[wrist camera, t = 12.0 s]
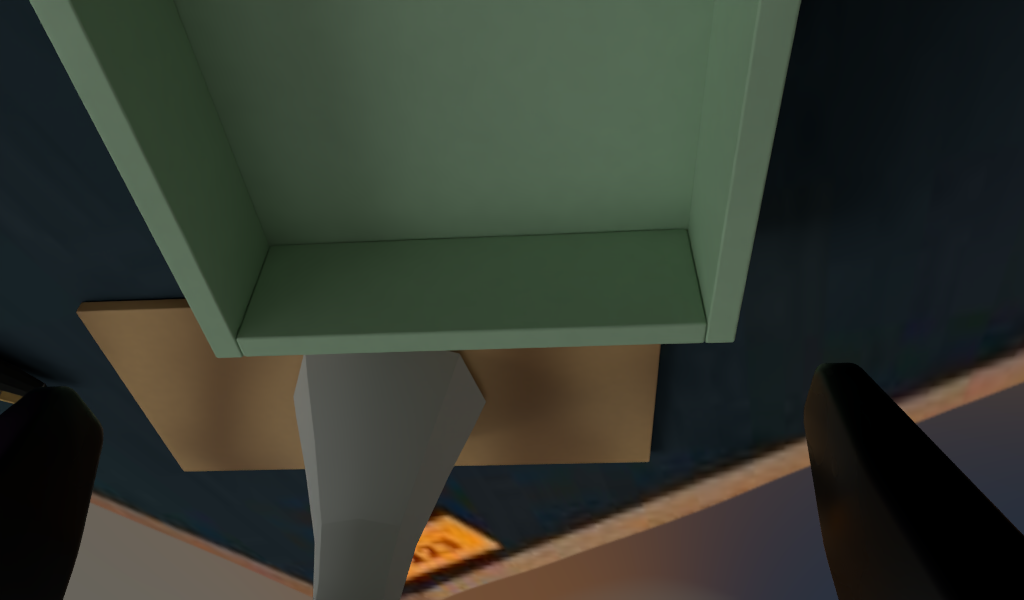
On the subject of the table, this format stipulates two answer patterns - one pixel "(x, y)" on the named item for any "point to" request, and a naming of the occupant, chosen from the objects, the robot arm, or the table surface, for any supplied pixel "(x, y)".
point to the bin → (440, 163)
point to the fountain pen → (15, 382)
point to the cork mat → (272, 379)
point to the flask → (378, 459)
